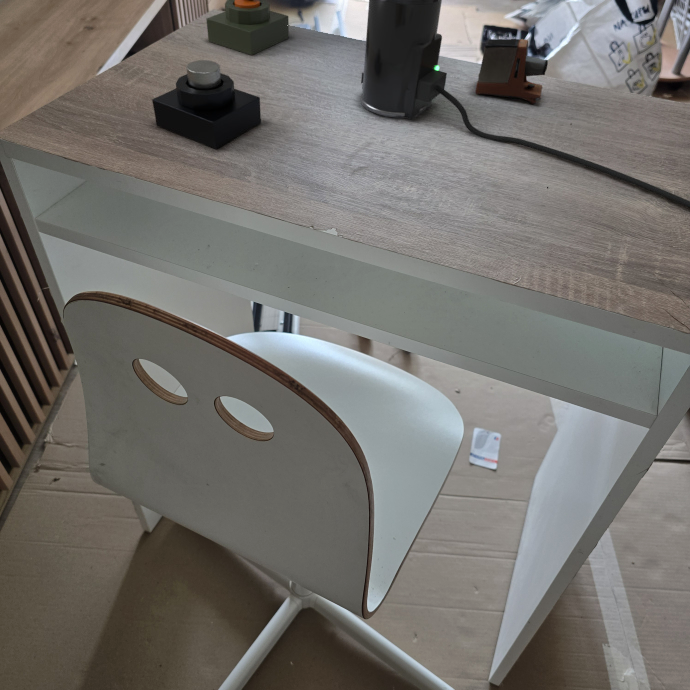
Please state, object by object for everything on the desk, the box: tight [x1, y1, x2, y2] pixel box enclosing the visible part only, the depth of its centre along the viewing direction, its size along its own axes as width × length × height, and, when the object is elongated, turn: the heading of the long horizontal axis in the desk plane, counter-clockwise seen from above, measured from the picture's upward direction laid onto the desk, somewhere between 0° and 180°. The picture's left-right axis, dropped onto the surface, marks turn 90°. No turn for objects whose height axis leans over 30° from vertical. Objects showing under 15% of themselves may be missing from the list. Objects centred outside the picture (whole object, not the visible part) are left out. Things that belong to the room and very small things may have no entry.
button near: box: [186, 59, 221, 91], centre depth 74 cm, size 4×4×2 cm
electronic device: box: [475, 38, 549, 105], centre depth 88 cm, size 4×10×8 cm, turn 74°
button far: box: [235, 0, 260, 9], centre depth 97 cm, size 4×4×2 cm
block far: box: [205, 0, 290, 56], centre depth 98 cm, size 10×9×6 cm
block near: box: [151, 72, 262, 150], centre depth 77 cm, size 10×9×6 cm
